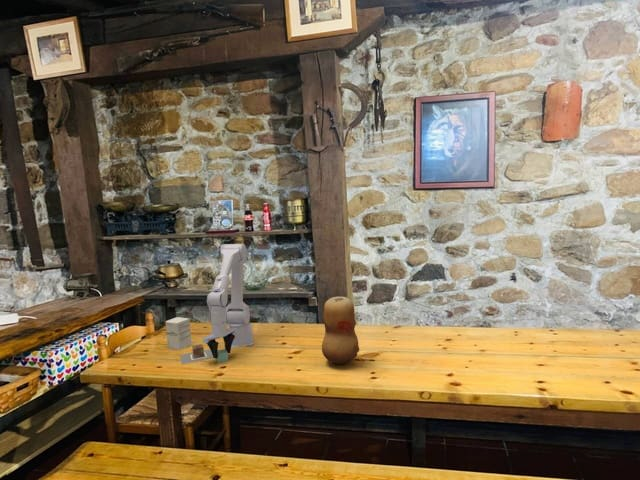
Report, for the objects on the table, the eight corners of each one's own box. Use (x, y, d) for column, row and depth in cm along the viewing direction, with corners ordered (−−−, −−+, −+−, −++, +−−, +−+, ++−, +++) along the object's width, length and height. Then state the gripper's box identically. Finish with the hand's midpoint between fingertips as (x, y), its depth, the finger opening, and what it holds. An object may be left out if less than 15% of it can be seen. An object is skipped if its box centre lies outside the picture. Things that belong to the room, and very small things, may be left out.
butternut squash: (328, 372, 150) (324, 304, 148) (318, 359, 163) (315, 296, 160) (365, 366, 154) (362, 299, 151) (352, 353, 167) (349, 291, 164)
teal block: (226, 358, 169) (225, 348, 169) (228, 362, 165) (227, 352, 165) (216, 360, 168) (215, 350, 167) (218, 364, 164) (217, 354, 163)
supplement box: (167, 349, 183) (164, 321, 181) (180, 343, 189) (177, 316, 188) (179, 351, 179) (176, 323, 178) (192, 345, 186) (189, 318, 184)
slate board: (214, 349, 179) (213, 348, 179) (218, 358, 169) (218, 357, 169) (179, 356, 174) (179, 354, 174) (181, 365, 164) (181, 364, 164)
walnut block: (202, 353, 174) (202, 344, 174) (204, 356, 171) (203, 347, 170) (192, 355, 173) (192, 345, 172) (194, 358, 169) (193, 349, 169)
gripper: (228, 315, 173) (230, 347, 174) (197, 325, 162) (200, 359, 163) (238, 318, 168) (241, 351, 170) (207, 328, 157) (210, 363, 159)
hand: (221, 355), depth 166 cm, fingers closed on teal block, 5 cm apart
